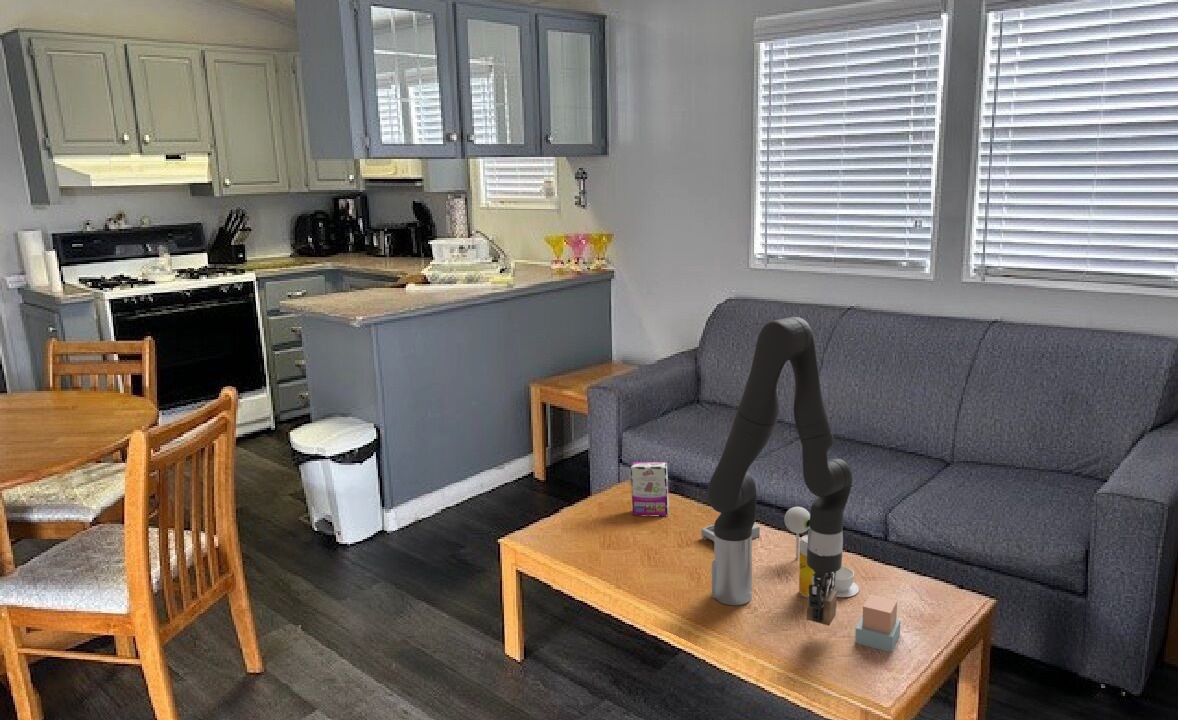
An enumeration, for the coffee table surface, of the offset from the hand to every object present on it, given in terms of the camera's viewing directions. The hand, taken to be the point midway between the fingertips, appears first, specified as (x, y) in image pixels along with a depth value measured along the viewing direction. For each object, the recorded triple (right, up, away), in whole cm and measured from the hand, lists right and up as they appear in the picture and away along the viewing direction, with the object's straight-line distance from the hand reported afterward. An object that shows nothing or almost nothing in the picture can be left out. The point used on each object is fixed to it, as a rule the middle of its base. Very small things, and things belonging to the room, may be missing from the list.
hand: (821, 614), depth 188 cm
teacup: (+11, -1, +22) cm, 25 cm away
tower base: (+13, -6, 0) cm, 14 cm away
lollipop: (+4, +3, +39) cm, 39 cm away
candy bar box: (-33, +9, +73) cm, 80 cm away
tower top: (+13, -2, -1) cm, 13 cm away
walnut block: (0, -1, 0) cm, 1 cm away
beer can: (+3, -1, +20) cm, 20 cm away
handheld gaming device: (-12, +5, +53) cm, 55 cm away
